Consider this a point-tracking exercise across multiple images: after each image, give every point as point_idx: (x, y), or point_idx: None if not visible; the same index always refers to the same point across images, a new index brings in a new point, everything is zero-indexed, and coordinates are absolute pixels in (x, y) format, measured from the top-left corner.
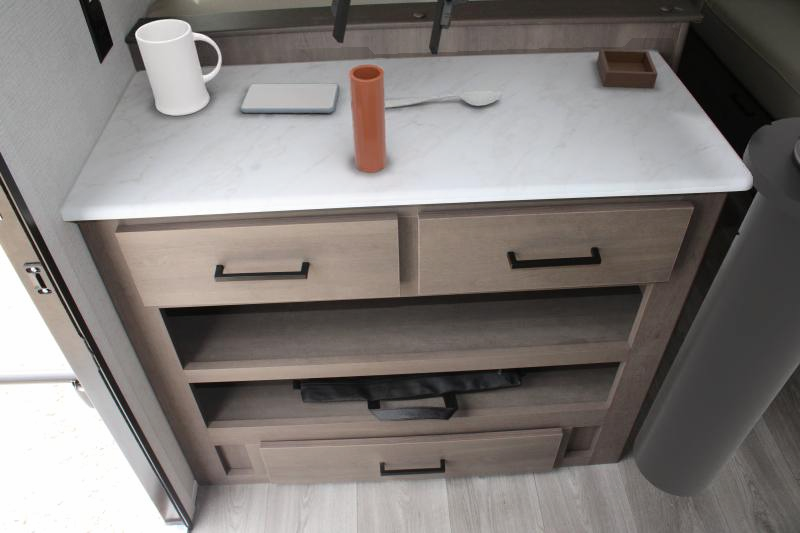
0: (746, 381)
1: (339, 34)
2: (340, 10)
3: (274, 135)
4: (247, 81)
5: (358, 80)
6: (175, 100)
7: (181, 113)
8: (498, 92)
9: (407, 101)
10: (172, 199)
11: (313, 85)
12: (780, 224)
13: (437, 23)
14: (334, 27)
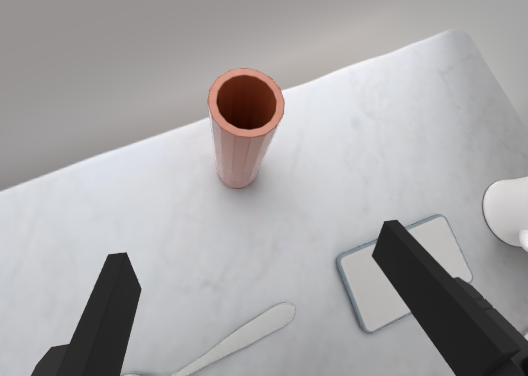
0: None
1: (386, 236)
2: (438, 274)
3: (374, 185)
4: (484, 294)
5: (250, 70)
6: (515, 180)
7: (493, 184)
8: None
9: (243, 334)
10: (394, 57)
11: (397, 311)
12: None
13: (82, 325)
14: (408, 233)
